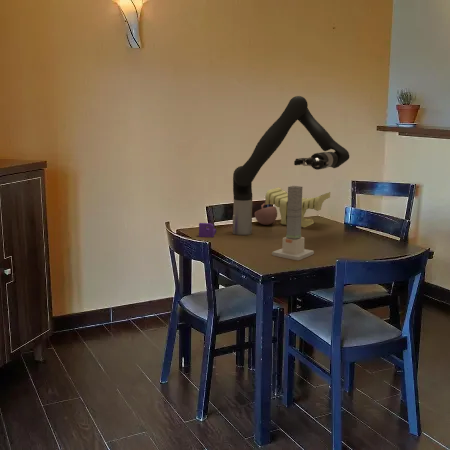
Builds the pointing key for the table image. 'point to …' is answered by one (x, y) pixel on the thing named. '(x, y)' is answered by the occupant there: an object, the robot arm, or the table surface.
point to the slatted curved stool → (281, 201)
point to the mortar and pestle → (266, 215)
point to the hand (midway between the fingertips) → (303, 163)
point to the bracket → (206, 230)
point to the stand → (293, 249)
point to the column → (294, 212)
